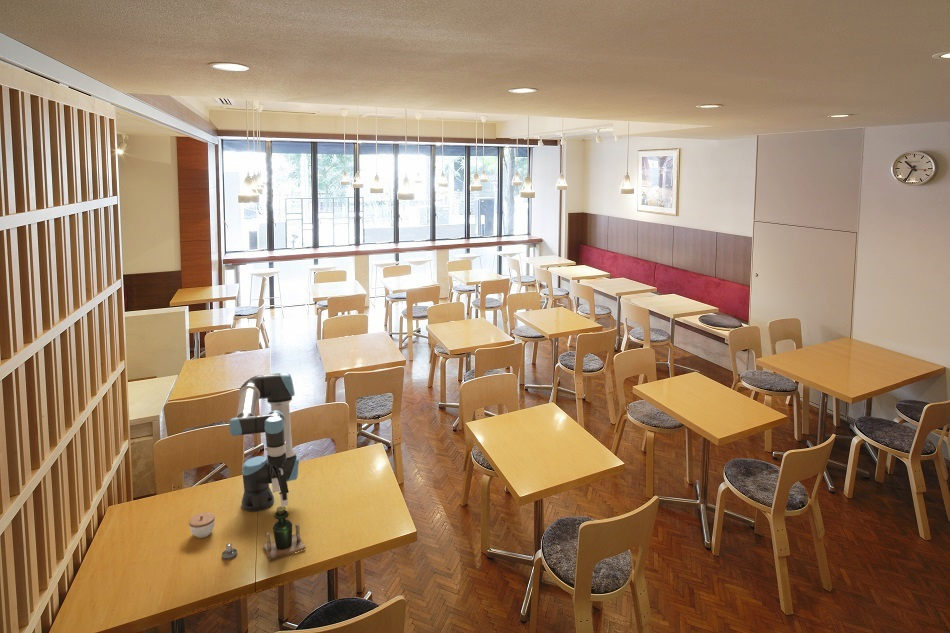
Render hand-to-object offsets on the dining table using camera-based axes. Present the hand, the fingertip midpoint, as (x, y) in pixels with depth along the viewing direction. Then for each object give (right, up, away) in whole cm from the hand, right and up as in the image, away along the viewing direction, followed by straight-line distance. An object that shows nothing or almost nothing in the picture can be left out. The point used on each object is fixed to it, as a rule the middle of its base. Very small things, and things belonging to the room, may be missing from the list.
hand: (280, 498), depth 249 cm
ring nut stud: (-22, -24, +1) cm, 33 cm away
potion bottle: (0, -22, +5) cm, 23 cm away
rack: (0, -23, +5) cm, 24 cm away
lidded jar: (-40, -21, +16) cm, 48 cm away
